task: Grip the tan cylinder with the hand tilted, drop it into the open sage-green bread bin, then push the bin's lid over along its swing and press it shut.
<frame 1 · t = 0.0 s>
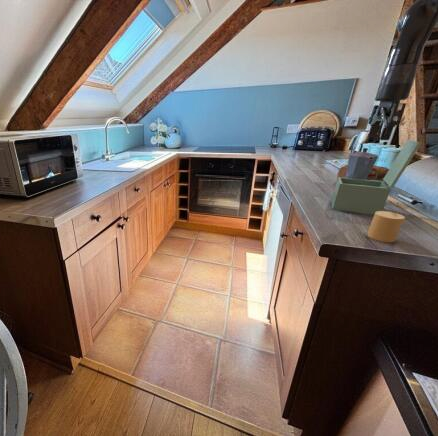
hand: (377, 139, 80), 25 cm above the countertop, tool pointing down, fingers open, 8 cm apart
bread bin: (353, 207, 92), on the countertop
tan cylinder: (380, 237, 69), on the countertop
moka pot: (348, 194, 107), on the countertop
bin lid: (400, 163, 81), point 17 cm above the countertop, hinge at 100.0°
bread: (360, 185, 121), on the countertop
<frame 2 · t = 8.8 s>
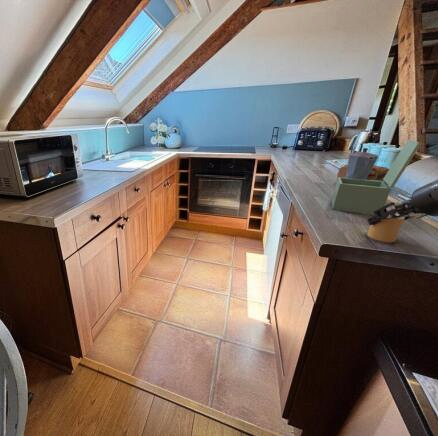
hand: (380, 221, 69), 4 cm above the countertop, tool tilted 45°, fingers closed on tan cylinder, 6 cm apart
tan cylinder: (380, 237, 69), on the countertop, touching gripper
everything else where it was.
when the fingers open (20 cm above the countertop, at t = 17.9 s): tan cylinder drops 15 cm, resting on bread bin.
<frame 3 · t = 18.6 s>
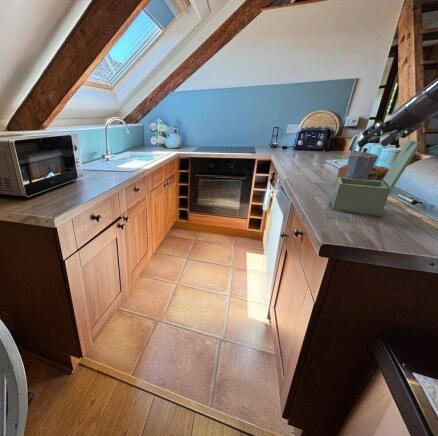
hand: (370, 145, 84), 23 cm above the countertop, tool tilted 45°, fingers open, 8 cm apart
tan cylinder: (354, 205, 91), point 1 cm above the countertop, touching bread bin
everything else where it was.
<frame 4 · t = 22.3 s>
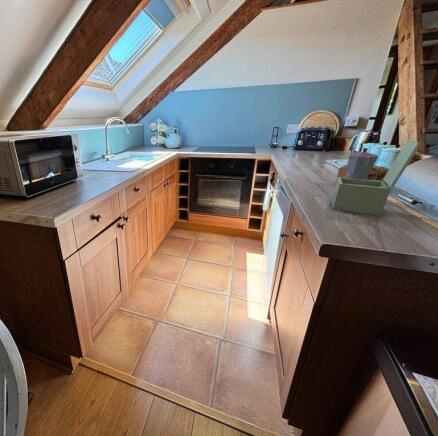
nothing on the countertop moved.
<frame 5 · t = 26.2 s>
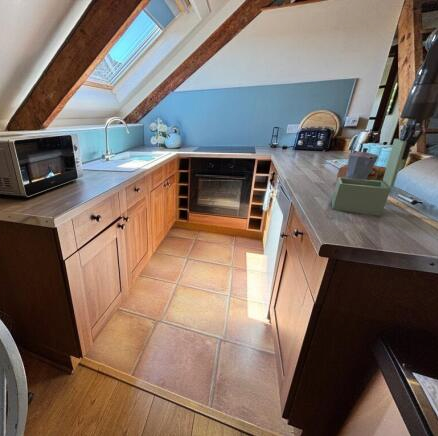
hand: (400, 159, 81), 19 cm above the countertop, tool pointing down, fingers closed
bin lid: (393, 162, 82), point 17 cm above the countertop, hinge at 86.7°, touching gripper
everything else where it was.
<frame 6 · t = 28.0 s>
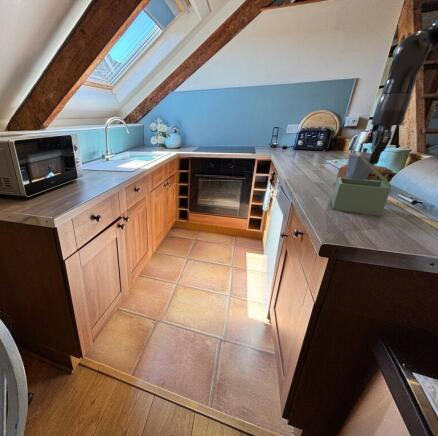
hand: (372, 163, 85), 17 cm above the countertop, tool pointing down, fingers closed
bin lid: (372, 168, 85), point 15 cm above the countertop, hinge at 42.5°, touching gripper
everything else where it was.
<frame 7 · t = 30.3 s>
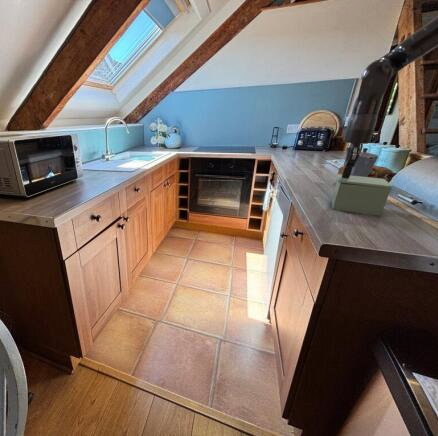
hand: (345, 177, 90), 11 cm above the countertop, tool pointing down, fingers closed
bin lid: (361, 180, 88), point 10 cm above the countertop, hinge at 1.6°, touching gripper
everything else where it was.
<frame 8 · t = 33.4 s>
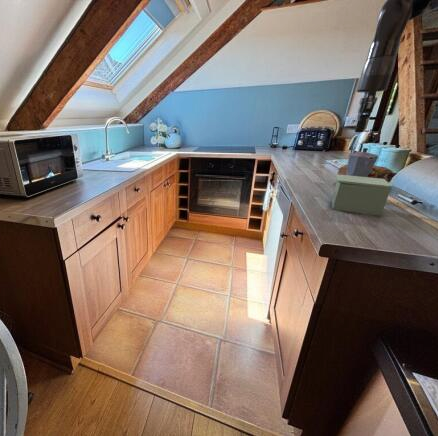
hand: (358, 132, 84), 27 cm above the countertop, tool pointing down, fingers closed
bin lid: (361, 180, 88), point 10 cm above the countertop, hinge at 1.2°
everything else where it was.
at the end: tan cylinder inside the target area in the bread bin (0.1 cm from its centre), point 0.8 cm above the bread bin's base; bin lid at +1° (first picture: +100°) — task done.
